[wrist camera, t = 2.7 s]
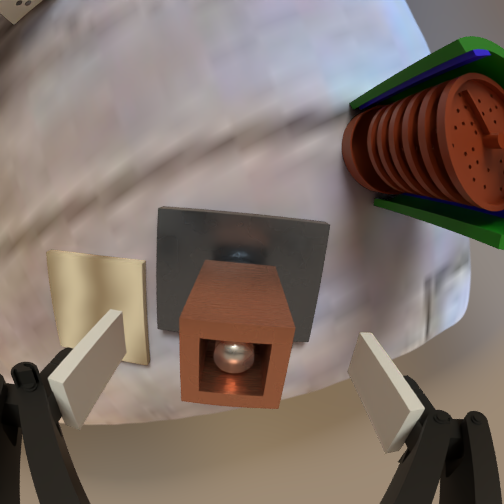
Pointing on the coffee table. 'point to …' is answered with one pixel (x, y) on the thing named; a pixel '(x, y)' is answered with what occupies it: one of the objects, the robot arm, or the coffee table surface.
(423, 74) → the motor
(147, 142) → the coffee table surface
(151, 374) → the coffee table surface
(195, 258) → the grey peg stand
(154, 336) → the coffee table surface
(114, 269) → the plywood pad
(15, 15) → the grater
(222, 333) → the square copper sleeve
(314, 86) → the coffee table surface
